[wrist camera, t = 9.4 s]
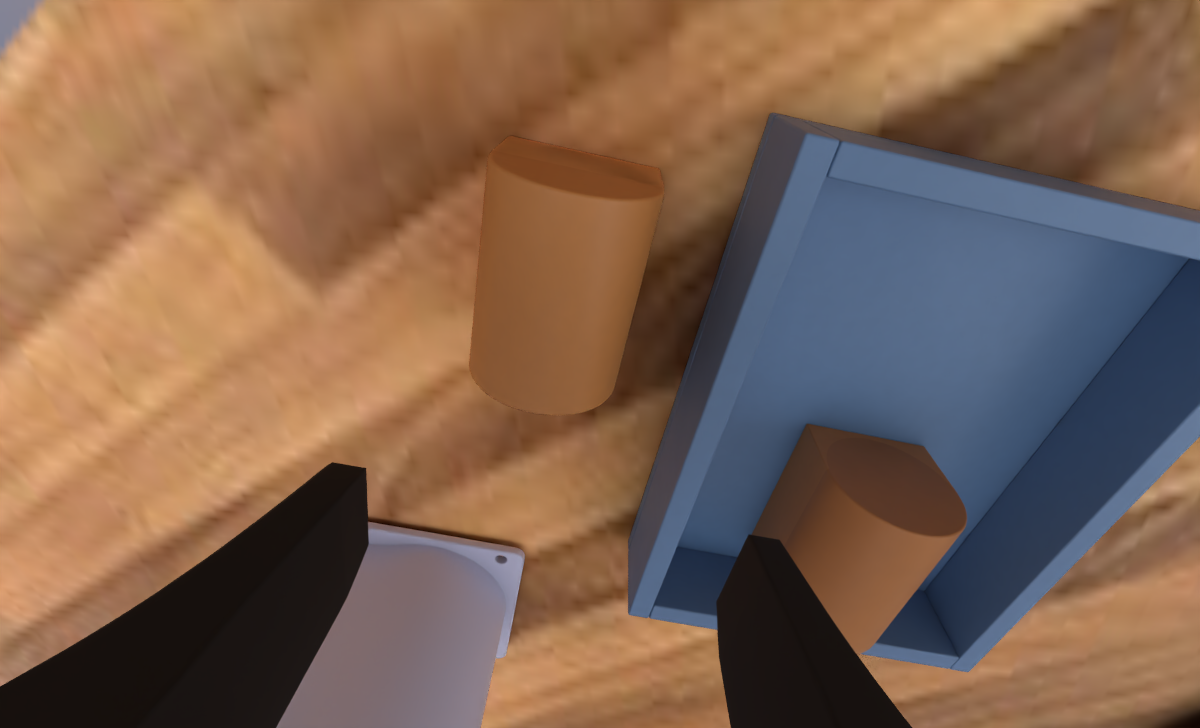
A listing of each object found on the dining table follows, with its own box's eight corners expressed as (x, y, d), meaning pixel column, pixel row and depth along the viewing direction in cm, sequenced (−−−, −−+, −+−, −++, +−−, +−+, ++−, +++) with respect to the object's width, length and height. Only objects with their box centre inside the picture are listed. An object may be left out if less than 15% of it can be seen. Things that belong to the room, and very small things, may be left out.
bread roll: (488, 321, 19) (450, 399, 15) (508, 134, 16) (467, 169, 12) (616, 346, 19) (612, 429, 15) (660, 168, 16) (670, 213, 12)
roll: (749, 538, 22) (774, 645, 19) (806, 422, 19) (851, 522, 15) (851, 556, 23) (898, 666, 19) (924, 445, 20) (998, 549, 16)
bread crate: (628, 540, 24) (627, 615, 21) (769, 111, 15) (806, 132, 12) (926, 592, 25) (968, 673, 21) (1227, 217, 16) (1373, 261, 13)
